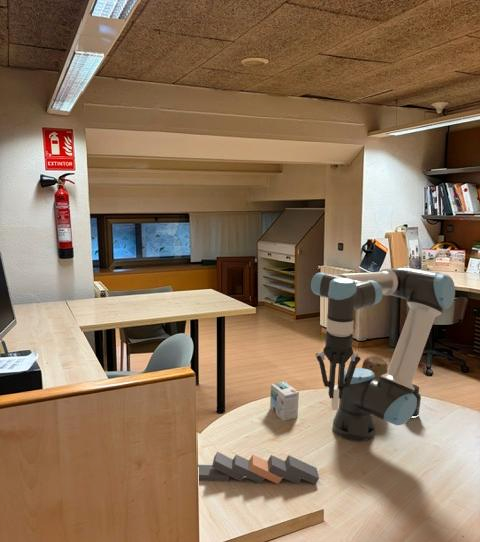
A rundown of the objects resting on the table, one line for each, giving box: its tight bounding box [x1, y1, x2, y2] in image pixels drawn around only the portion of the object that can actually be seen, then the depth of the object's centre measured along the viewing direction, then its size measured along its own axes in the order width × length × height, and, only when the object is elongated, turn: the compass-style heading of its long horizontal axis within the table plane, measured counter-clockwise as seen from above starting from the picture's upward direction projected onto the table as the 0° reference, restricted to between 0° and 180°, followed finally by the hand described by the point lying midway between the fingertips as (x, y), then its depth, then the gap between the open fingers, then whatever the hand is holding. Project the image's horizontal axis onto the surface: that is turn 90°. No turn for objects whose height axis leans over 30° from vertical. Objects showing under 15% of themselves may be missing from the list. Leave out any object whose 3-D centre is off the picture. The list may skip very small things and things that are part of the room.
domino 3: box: [232, 454, 265, 484], centre depth 140 cm, size 2×5×10 cm
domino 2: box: [211, 451, 245, 482], centre depth 141 cm, size 2×5×10 cm
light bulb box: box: [269, 381, 300, 422], centre depth 179 cm, size 11×7×11 cm, turn 27°
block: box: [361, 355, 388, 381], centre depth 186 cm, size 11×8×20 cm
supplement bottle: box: [412, 383, 422, 416], centre depth 179 cm, size 7×7×12 cm
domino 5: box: [267, 454, 302, 485], centre depth 140 cm, size 2×5×10 cm
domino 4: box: [248, 454, 283, 485], centre depth 140 cm, size 2×5×10 cm
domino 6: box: [284, 454, 320, 485], centre depth 140 cm, size 2×5×10 cm
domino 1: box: [197, 464, 230, 482], centre depth 142 cm, size 2×5×10 cm
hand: (334, 407), depth 136 cm, fingers closed
